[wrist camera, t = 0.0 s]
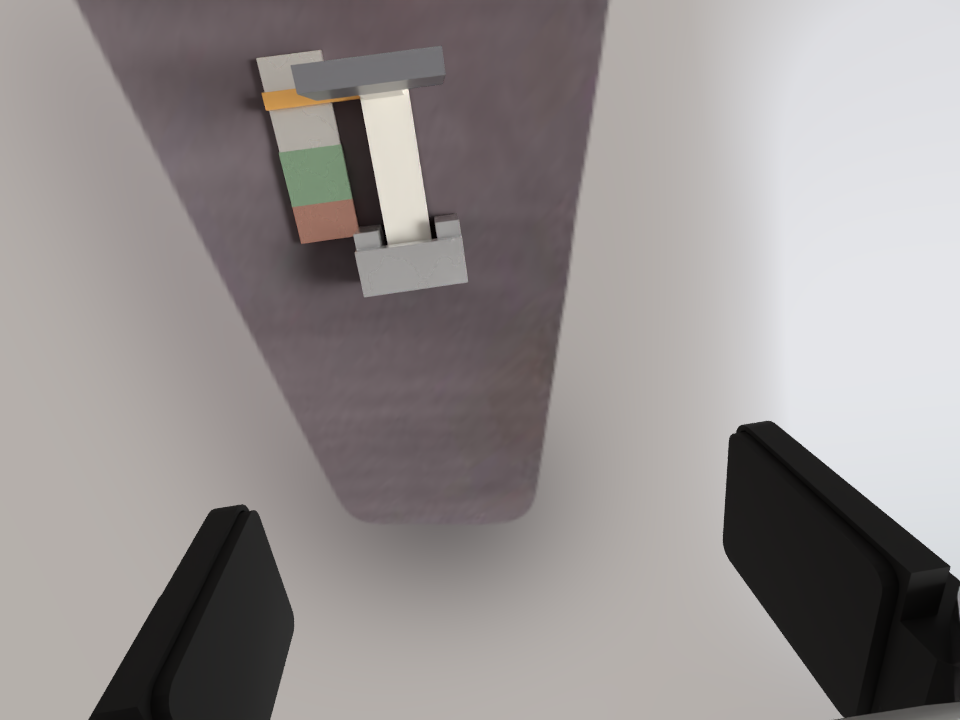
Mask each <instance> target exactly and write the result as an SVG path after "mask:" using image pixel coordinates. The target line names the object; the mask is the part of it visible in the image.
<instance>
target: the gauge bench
mask: <svg viewBox="0 0 960 720" xmlns="http://www.w3.org/2000/svg"><path fill="white" fill-rule="evenodd" d="M256 60H257V64H258V68H259V72H260V76H261V80H262V84H263V88H264V92H272V91H280V90H288V89H296V88H295V83H294V79H293V75H292V70H291V66H290V65H296V64H304V63H311V62H319V61H324V58H323V53H322V51H321V50H317V51H309V52H301V53H293V54H286V55H278V56H270V57H262V58H256ZM269 112H270V116H271V120H272V124H273V128H274V132H275V136H276V140H277V144H278V148H279V152H280V153H279V156H280V160H281V164H282V168H283V172H284V176H285V180H286V184H287V188H288V192H289V196H290V200H291V204H292V208H293V212H294V216H295V220H296V224H297V228H298V232H299V236H300V240H301V244H303V243H311V242H318V241H325V240H332V239H339V238H346V237H353V236H354V241H355V246H356V251H355V257H356V262H357V266H358V271H359V276H360V280H361V285H362V290H363V294H364V297H369V296H376V295H383V294H390V293H397V292H404V291H411V290H417V289H424V288H431V287H438V286H445V285H452V284H459V283H465V282H468V278H467V271H466V263H465V256H464V249H463V241H462V236H461V231H460V224H459V219H458V216H457V214H449V215H442V216H434V220H435V227H436V233H437V238H435V239H428V240H421V241H414V242H407V243H400V244H393V245H386V246H385V242H384V237H383V231H382V226H381V224H378V225H370V226H363V227H359V223H358V218H357V213H356V209H355V204H354V199H353V194H352V189H351V184H350V180H349V175H348V170H347V165H346V160H345V155H344V151H343V146H342V144H341V140H340V135H339V130H338V125H337V121H336V116H335V111H334V106H333V102H332V103H324V104H317V105H309V106H302V107H294V108H286V109H279V110H271V111H269Z"/></svg>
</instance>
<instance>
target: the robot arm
mask: <svg viewBox="0 0 960 720" xmlns="http://www.w3.org/2000/svg"><path fill="white" fill-rule="evenodd" d="M723 546H724V550H725V553H726V555H727V557H728V559H729V560H730V562H731V563H732V564H733V566H734V567H735V569H736V570H737V571H738V573H739V574H740V576H741V577H742V578H743V580H744V581H745V582H746V584H747V585H748V586H749V588H750V589H751V591H752V592H753V594H754V595H755V596H756V598H757V599H758V600H759V602H760V603H761V605H762V606H763V607H764V609H765V610H766V612H767V613H768V614H769V616H770V617H771V618H772V620H773V621H774V623H775V624H776V625H777V627H778V628H779V629H780V631H781V632H782V634H783V635H784V636H785V638H786V639H787V641H788V642H789V643H790V645H791V646H792V648H793V649H794V650H795V652H796V653H797V654H798V656H799V657H800V659H801V660H802V662H803V663H804V664H805V666H806V667H807V668H808V670H809V671H810V673H811V674H812V675H813V676H814V678H815V680H816V681H817V682H818V684H819V685H820V686H821V688H822V689H823V691H824V692H825V693H826V695H827V696H828V698H829V699H830V700H831V702H832V703H833V704H834V706H835V707H836V709H837V710H838V711H839V712H840V714H841V715H842V716H843V717H844V718H842V719H835V720H960V581H959V580H958V579H957V578H956V577H955V576H953V575H952V574H951V573H950V572H949V570H950V566H949V565H948V564H947V563H945V562H944V561H943V560H942V559H941V558H940V557H938V556H937V555H936V554H935V553H933V552H932V551H931V550H930V549H928V548H927V547H926V546H925V545H924V544H922V543H921V542H920V541H919V540H917V539H916V538H915V537H914V536H913V535H911V534H910V533H909V532H908V531H906V530H905V529H904V528H903V527H901V526H900V525H899V524H898V523H897V522H895V521H894V520H893V519H892V518H890V517H889V516H888V515H887V514H886V513H884V512H883V511H882V510H881V509H879V508H878V507H877V506H875V505H874V504H873V503H872V502H871V501H870V500H868V499H867V498H866V497H865V496H863V495H862V494H861V493H860V492H859V491H857V490H856V489H855V488H854V487H852V486H851V485H850V484H848V483H847V482H846V481H845V480H844V479H842V478H841V477H840V476H839V475H838V474H836V473H835V472H834V471H833V470H832V469H830V468H829V467H828V466H827V465H825V464H824V463H823V462H822V461H821V460H819V459H818V458H817V457H816V456H814V455H813V454H812V453H811V452H809V451H808V450H807V449H806V448H804V447H803V446H802V445H801V444H800V443H798V442H797V441H796V440H795V439H793V438H792V437H791V436H790V435H789V434H787V433H786V432H785V431H784V430H782V429H781V428H780V427H779V426H778V425H776V424H775V423H773V422H771V421H764V422H757V423H751V424H745V425H741V426H739V427H738V429H737V431H736V433H735V434H732V435H731V436H730V438H729V448H728V466H727V481H726V497H725V513H724V528H723ZM293 631H294V616H293V611H292V608H291V605H290V603H289V600H288V597H287V594H286V591H285V588H284V585H283V582H282V579H281V577H280V574H279V571H278V568H277V565H276V562H275V559H274V557H273V554H272V551H271V548H270V545H269V542H268V540H267V537H266V534H265V531H264V528H263V525H262V522H261V519H260V516H259V514H258V513H257V511H255V510H253V511H249V509H248V508H247V507H246V506H245V505H243V504H242V505H236V506H230V507H223V508H217V509H213V510H211V511H210V513H209V514H208V516H207V517H206V519H205V521H204V522H203V524H202V526H201V528H200V529H199V531H198V533H197V534H196V536H195V538H194V540H193V542H192V543H191V545H190V547H189V548H188V550H187V552H186V554H185V556H184V557H183V559H182V560H181V562H180V564H179V566H178V567H177V570H176V571H175V573H174V574H173V576H172V578H171V580H170V581H169V583H168V585H167V586H166V588H165V590H164V592H163V594H162V595H161V596H160V597H159V599H158V600H157V603H156V604H155V606H154V608H153V609H152V611H151V612H150V614H149V616H148V618H147V619H146V621H145V623H144V625H143V626H142V628H141V630H140V631H139V633H138V635H137V637H136V639H135V640H134V642H133V644H132V645H131V647H130V649H129V651H128V652H127V654H126V656H125V657H124V659H123V661H122V663H121V664H120V666H119V668H118V670H117V671H116V673H115V675H114V676H113V678H112V680H111V682H110V683H109V685H108V687H107V689H106V690H105V692H104V694H103V696H102V697H101V699H100V701H99V702H98V704H97V706H96V708H95V709H94V711H93V713H92V714H91V716H90V718H89V720H270V718H271V714H272V711H273V707H274V703H275V699H276V695H277V692H278V688H279V684H280V680H281V677H282V673H283V669H284V666H285V662H286V658H287V654H288V651H289V647H290V642H291V639H292V636H293Z"/></svg>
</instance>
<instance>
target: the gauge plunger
mask: <svg viewBox="0 0 960 720" xmlns="http://www.w3.org/2000/svg"><path fill="white" fill-rule="evenodd" d="M290 66H291V70H292V75H293V79H294V83H295V88H296V89H288V90H280V91H272V92H265V93H262V97H263V101H264V105H265V109H266V111H271V110H279V109H286V108H294V107H302V106H309V105H317V104H324V103H332V102H340V101H347V100H355V99H360V100H361V105H362V111H363V116H364V121H365V127H366V132H367V137H368V142H369V148H370V153H371V158H372V163H373V169H374V174H375V179H376V185H377V190H378V195H379V200H380V206H381V211H382V216H383V222H384V227H385V232H386V237H387V243H388V245H393V244H400V243H407V242H414V241H421V240H428V239H432V236H431V230H430V224H429V217H428V211H427V204H426V198H425V192H424V185H423V179H422V173H421V166H420V160H419V154H418V147H417V141H416V135H415V128H414V122H413V116H412V109H411V103H410V96H409V90H408V89H411V88H419V87H427V86H434V85H442V84H443V81H444V78H445V75H446V74H445V67H444V59H443V51H442V46H436V47H428V48H420V49H413V50H405V51H397V52H389V53H382V54H374V55H366V56H358V57H350V58H343V59H335V60H327V61H319V62H311V63H304V64H296V65H290Z"/></svg>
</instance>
